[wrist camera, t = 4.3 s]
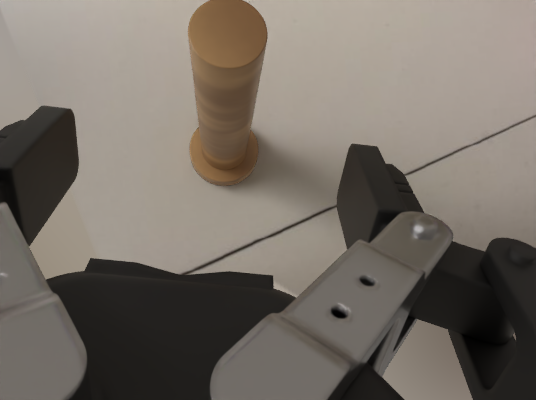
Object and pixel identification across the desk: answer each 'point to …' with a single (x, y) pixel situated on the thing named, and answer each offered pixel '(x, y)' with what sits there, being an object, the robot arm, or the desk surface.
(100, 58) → the desk surface
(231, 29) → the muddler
